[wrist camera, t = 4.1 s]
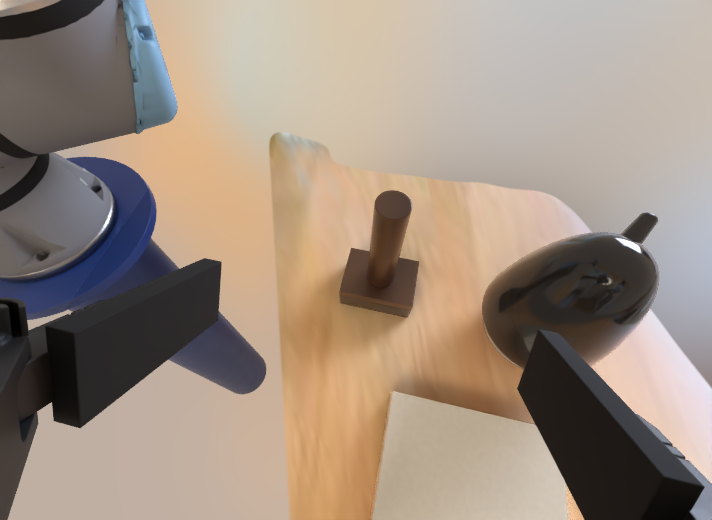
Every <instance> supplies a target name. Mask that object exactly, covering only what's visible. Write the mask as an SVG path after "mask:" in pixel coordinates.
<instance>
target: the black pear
mask: <svg viewBox="0 0 712 520" xmlns="http://www.w3.org/2000/svg"><path fill="white" fill-rule="evenodd" d="M657 222H658V218H657V217H656V215H654V214H652V213H642V214H641V215H640V216H639V217H638V218H637V219H636V220H634V222H632V223H631V224H630V225H629V226H628V227H627V228H626V229H625V230H624V231H623V232H622V233H621V234H615V233H608V232H596V233H586V234H580V235H576V236H572V237H568V238H565V239H562V240H559V241H556V242H554V243H551V244H549V245H546V246H544V247H542V248H540V249H538V250H536V251H534V252H532V253H530V254H528V255H526V256H524V257H522V258H521V259H519V260H518V261H516V262H515V263H513V264H512V265H510V266H509V267H507V268H506V269H505V270H503V271H502V272H501V273H500V274H499V275H497V276H496V277H495V279H494V280H493V281H492V282H491V283H490V285H489V286H488V288H487V289H486V292H485V294H484V297H483V303H482V314H483V323H484V327H485V331H486V334H487V336H488V338H489V340H490V342H491V343H492V345H493V346H494V347H495V349H496V350H497V351H498V352H499V353H500V354H501V355H502V356H503V357H504V358H505V359H507V360H508V361H509V362H511V363H512V364H514V365H516V366H518V367H520V368H522V369H524V368H525V366H526V363H527V360H528V357H529V354H530V351H531V349H532V346H533V343H534V340H535V337H536V334H537V332H538V329H540V330H545V331H550V332H555V333H559V334H560V335H561V336H562V337H563V338H564V339H565V341H566V342H567V343H568V344H569V345H570V346H571V347H572V348H573V349H574V350H575V351H576V352H577V353H578V354H579V355H580V356H581V357H582V358H583V359H584V361H585V362H586V363H587V364H588V365H589V366H590V367H591V366H593V365H594V364H596V363H597V362H599V361H600V360H602V359H603V358H604V357H606V356H607V355H609V354H610V353H611V352H612V351H613V350H615V349H616V348H617V347H618V346H619V345H620V344H621V343H622V342H623V341H624V340H625V339H626V338H627V337H628V336H629V335H630V334H631V333H632V332H633V331H634V330H635V328H636V327H637V326H638V325H639V324H640V322H641V321H642V320H643V319H644V317H645V316H646V314H647V312H648V311H649V309H650V307H651V305H652V303H653V301H654V299H655V296H656V293H657V289H658V285H659V269H658V265H657V263H656V261H655V259H654V257H653V256H652V254H651V253H650V252H649V251H648V250H647V249H646V248H645V247H644V246H643V245H642V243H643V242H644V240H645V239H646V237H647V236H648V235H649V233H650V232H651V231H652V229H653V228H654V226H655V225H656V223H657Z"/></svg>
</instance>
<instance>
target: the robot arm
mask: <svg viewBox="0 0 712 520" xmlns="http://www.w3.org/2000/svg"><path fill="white" fill-rule="evenodd" d="M176 113H177V101H176V97H175V94H174V90H173V88H172V84H171V81H170V77H169V74H168V71H167V68H166V65H165V61H164V58H163V55H162V52H161V49H160V46H159V43H158V40H157V37H156V33H155V30H154V27H153V24H152V21H151V18H150V16H149V12H148V9H147V6H146V3H145V0H0V280H3V281H8V282H33V281H39V280H43V279H47V278H50V277H53V276H56V275H59V274H61V273H63V272H65V271H68V270H70V269H71V268H73V267H75V266H77V265H78V264H80V263H82V262H83V261H84V260H86V259H87V258H89V257H90V256H91V255H92V254H93V253H95V252H96V251H97V250H98V249H99V248H100V247H101V245H102V244H103V243H104V242H105V241H106V239H107V238H108V237H109V235H110V234H111V232H112V230H113V228H114V226H115V223H116V220H117V217H118V203H117V199H116V197H115V195H114V194H113V192H112V191H111V190H110V189H109V188H108V187H107V186H106V184H105V183H104V182H103V181H102V180H100V179H99V178H98V177H96V176H95V175H94V174H92V173H90V172H89V171H87V170H85V169H84V168H81V167H80V166H78V165H76V164H74V163H72V162H71V161H69V160H67V159H65V158H63V157H61V156H59V155H58V154H56V153H54V152H56V151H60V150H64V149H68V148H72V147H76V146H81V145H85V144H89V143H93V142H98V141H102V140H106V139H110V138H114V137H119V136H123V135H127V134H131V133H136V134H139V133H141V132H142V131H143V130H144V129H148V128H151V127H154V126H158V125H161V124H165V123H168V122H170V121H171V120H172V119H173V118H174V116H175V115H176ZM220 278H221V262H220V261H215V260H210V259H206V258H205V259H202V260H200V261H197V262H195V263H192V264H190V265H188V266H185V267H183V268H181V269H178V270H176V271H174V272H171V273H169V274H167V275H164V276H162V277H160V278H157V279H155V280H152V281H150V282H148V283H145V284H143V285H141V286H138V287H136V288H134V289H131V290H129V291H127V292H124V293H122V294H120V295H117V296H115V297H113V298H110V299H106V300H102V301H98V302H96V303H93V304H91V305H89V306H86V307H84V309H79V310H77V311H74V312H72V313H71V315H69V314H67V315H65V316H62V317H60V318H58V319H55V320H53V321H50V322H48V323H46V324H43V325H41V326H39V327H36V328H34V329H31V330H29V331H28V324H27V314H26V304H25V302H23V301H22V300H20V299H14V298H0V520H7V519H8V516H9V513H10V509H11V506H12V503H13V500H14V497H15V494H16V491H17V488H18V485H19V482H20V478H21V475H22V472H23V469H24V466H25V463H26V460H27V457H28V453H29V450H30V447H31V444H32V441H33V438H34V435H35V432H36V429H37V425H38V415H37V411H38V410H40V409H42V408H43V407H45V406H46V405H48V404H49V403H51V402H52V406H53V417H54V421H56V422H59V423H64V424H67V425H70V426H74V427H78V428H81V427H82V426H84V425H85V424H86V423H87V422H89V421H90V420H91V419H93V418H94V417H95V416H96V415H98V414H99V413H100V412H102V411H103V410H104V409H105V408H107V407H108V406H109V405H110V404H112V403H113V402H114V401H115V400H116V399H118V398H119V397H121V396H122V395H123V394H125V393H126V392H127V391H128V390H130V388H132V387H133V386H135V385H136V384H137V383H139V382H140V381H141V380H142V379H144V378H145V377H146V376H147V375H149V374H150V373H151V372H152V371H154V370H155V369H156V368H158V367H159V366H160V365H161V364H163V363H164V362H165V361H167V360H168V359H169V358H170V357H172V356H173V355H174V354H175V353H177V352H178V351H179V350H181V349H182V348H183V347H184V346H186V345H187V344H188V343H189V342H191V341H192V340H193V339H195V338H196V337H197V336H198V335H200V334H201V333H202V332H204V331H205V330H206V329H207V328H209V327H210V326H211V325H212V324H214V323H215V322H216V321H218V309H219V294H220ZM517 389H518V391H519V393H520V395H521V397H522V399H523V401H524V403H525V405H526V407H527V409H528V411H529V413H530V415H531V416H532V418H533V420H534V422H535V424H536V426H537V428H538V430H539V432H540V434H541V436H542V438H543V440H544V442H545V444H546V446H547V447H548V449H549V451H550V453H551V455H552V457H553V459H554V461H555V463H556V465H557V467H558V469H559V471H560V473H561V475H562V477H563V479H564V480H565V482H566V484H567V486H568V488H569V490H570V492H571V494H572V496H573V498H574V500H575V502H576V504H577V506H578V508H579V510H580V511H581V513H582V515H583V517H584V519H585V520H712V484H711V483H710V482H709V481H708V480H707V479H706V478H705V477H704V476H703V475H702V474H701V473H700V472H699V471H698V470H697V469H696V468H695V467H694V466H693V465H692V464H691V463H690V462H689V461H688V460H685V456H684V455H683V454H682V453H681V452H680V451H679V450H678V449H677V448H676V447H673V446H672V443H671V442H670V441H669V440H668V439H667V438H666V437H665V436H664V435H663V434H662V433H661V432H660V431H659V430H658V429H657V428H655V427H654V426H653V425H651V424H650V423H649V422H647V421H646V420H644V419H643V418H642V417H640V416H639V415H637V414H635V413H634V412H633V411H632V410H631V409H630V408H629V407H628V406H627V405H626V404H625V403H624V401H623V400H622V399H621V398H620V397H619V396H618V395H617V394H616V393H615V392H614V391H613V390H612V389H611V388H610V387H609V386H608V385H607V384H606V383H605V382H604V380H603V379H602V378H601V377H600V376H599V375H598V374H597V373H596V372H595V371H594V370H593V369H592V368H591V367H590V366H589V365H588V364H587V363H586V362H585V361H584V359H583V358H582V357H581V356H580V355H579V354H578V353H577V352H576V351H575V350H574V349H573V348H572V347H571V346H570V345H569V344H568V343H567V342H566V341H565V339H564V338H563V337H562V336H561V335H560V334H559V333H555V332H550V331H545V330H540V329H538V332H537V334H536V337H535V340H534V343H533V346H532V349H531V351H530V354H529V357H528V360H527V363H526V366H525V368H524V371H523V374H522V377H521V380H520V383H519V386H518V388H517Z"/></svg>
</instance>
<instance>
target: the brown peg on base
mask: <svg viewBox="0 0 712 520" xmlns="http://www.w3.org/2000/svg"><path fill="white" fill-rule="evenodd" d="M411 210H412V203H411V200H410V199H409V197H408V196H407V195H405V194H404V193H402V192H399V191H393V190H391V191H386V192H383V193H381V194H380V195H379V196H378V197H377V198H376V200H375V206H374V215H373V225H372V234H371V243H370V252H369V251H364V250H359V249H354V248H351V251H350V255H349V258H348V262H347V266H346V269H345V273H344V277H343V280H342V284H341V288H340V303H342V304H347V305H352V306H356V307H361V308H365V309H370V310H375V311H379V312H384V313H388V314H393V315H398V316H402V317H408V315H409V313H410V311H411V309H412V306H413V299H414V293H415V286H416V279H417V273H418V266H419V261H414V260H409V259H404V258H399V256H400V252H401V248H402V245H403V241H404V237H405V233H406V229H407V226H408V222H409V218H410V214H411Z"/></svg>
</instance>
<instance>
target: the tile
mask: <svg viewBox="0 0 712 520" xmlns="http://www.w3.org/2000/svg"><path fill="white" fill-rule="evenodd" d="M370 520H568V508H567V494H566V482H565V480H564V479H563V477H562V475H561V473H560V471H559V469H558V467H557V465H556V463H555V461H554V459H553V457H552V455H551V453H550V451H549V449H548V447H547V446H546V444H545V442H544V440H543V438H542V436H541V434H540V432H539V430H538V428H537V426H536V425H534V424H530V423H526V422H522V421H518V420H513V419H509V418H505V417H501V416H497V415H492V414H488V413H484V412H480V411H476V410H471V409H467V408H463V407H459V406H455V405H450V404H446V403H442V402H438V401H433V400H429V399H425V398H421V397H417V396H412V395H408V394H404V393H400V392H396V391H392V393H391V394H390V398H389V404H388V410H387V416H386V423H385V429H384V435H383V441H382V447H381V453H380V460H379V466H378V472H377V478H376V484H375V490H374V497H373V503H372V509H371V515H370Z"/></svg>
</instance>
